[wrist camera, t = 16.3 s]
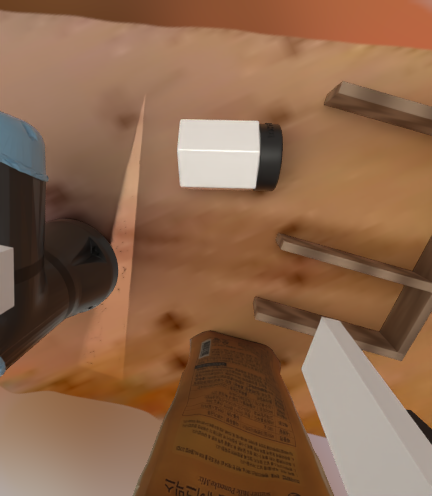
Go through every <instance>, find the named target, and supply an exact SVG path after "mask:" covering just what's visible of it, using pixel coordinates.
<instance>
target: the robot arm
mask: <svg viewBox="0 0 432 496" xmlns="http://www.w3.org/2000/svg"><path fill="white" fill-rule="evenodd" d="M48 179H49V178H48V176H47V175H46V163H45V144H44V141H43V138H42V136H41V135H40V133H39V132H38V131H37V130H36V129H35V128H34V127H33V126H32V125H30V124H28V123H27V122H25V121H23V120H21V119H18V118H16V117H13V116H11V115H9V114H6V113H3V112H1V111H0V376H2V375H3V374H4V372H5V370H7V369H8V368H9V367H10V366H11V365H12V364H14V363H15V362H16V361H17V360H18V359H19V358H20V357H22V356H23V355H24V354H25V353H26V352H27V351H28V350H30V349H31V348H32V347H33V346H34V345H35V344H36V343H38V342H39V341H40V340H41V339H42V338H43V337H45V336H46V335H47V334H48V333H49V332H50V331H51V330H53V329H54V328H55V327H56V326H57V325H58V324H60V323H61V322H62V321H63V320H64V319H66V318H68V317H71V316H74V315H76V314H78V313H82V312H85V311H88V310H91V309H93V308H95V307H96V306H98V305H99V304H100V303H101V302H103V301H104V300H105V299H106V298H107V297H108V296H109V295H110V294H111V292H112V291H113V289H114V287H115V285H116V282H117V278H118V263H117V259H116V256H115V253H114V251H113V249H112V247H111V245H110V244H109V242H108V241H107V240H106V239H105V237H104V236H103V235H102V234H101V233H99V232H98V231H97V230H96V229H94V228H93V227H91V226H90V225H88V224H86V223H83V222H81V221H78V220H73V219H56V220H52V221H48V222H45V203H46V181H47V182H48ZM302 372H303V375H304V377H305V380H306V383H307V386H308V388H309V391H310V394H311V397H312V399H313V402H314V405H315V407H316V410H317V413H318V416H319V418H320V421H321V424H322V426H323V429H324V432H325V435H326V437H327V440H328V443H329V445H330V448H331V451H332V453H333V456H334V459H335V462H336V464H337V467H338V470H339V472H340V475H341V478H342V481H343V484H344V486H345V489H346V492H347V494H348V496H432V429H431V428H430V427H429V426H428V425H427V424H425V423H424V422H423V421H422V420H421V419H420V418H419V417H418V416H417V415H416V414H415V413H413V412H412V411H411V410H406V409H405V408H404V407H403V405H402V404H401V403H400V401H399V400H398V399H397V397H396V396H395V395H394V393H393V392H392V391H391V389H390V388H389V387H388V385H387V384H386V383H385V381H384V380H383V379H382V377H381V376H380V375H379V373H378V372H377V371H376V369H375V368H374V366H373V365H372V364H371V362H370V361H369V360H368V358H367V357H366V356H365V354H364V353H363V352H362V350H361V349H360V348H359V346H358V345H357V344H356V342H355V341H354V340H353V338H352V337H351V336H350V334H349V333H348V332H347V330H346V329H345V327H344V326H343V325H342V323H341V322H340V321H338V320H334V319H329V318H325V317H322V318H321V320H320V323H319V325H318V328H317V331H316V333H315V336H314V338H313V341H312V343H311V346H310V348H309V351H308V353H307V356H306V358H305V361H304V364H303V366H302Z"/></svg>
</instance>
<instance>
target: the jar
mask: <svg viewBox="0 0 432 496" xmlns="http://www.w3.org/2000/svg"><path fill="white" fill-rule="evenodd" d="M282 151H283V137H282V130H281V127H280V125H278V124H272V123H265V124H259V121H246V120H201V119H181V120H180V125H179V136H178V145H177V156H178V168H179V180H180V186H181V187H183V188H185V189H212V190H252V189H253V190H254V191H273V190H274V189H275V187H276V185H277V182H278V179H279V174H280V169H281V162H282Z"/></svg>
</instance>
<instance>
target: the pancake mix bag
mask: <svg viewBox="0 0 432 496" xmlns="http://www.w3.org/2000/svg"><path fill="white" fill-rule="evenodd" d="M280 369H281V366H280V362H279V360H278V359H277V357H276V356H275V354H274V352H273V351H272V350H271V349H270V348H269V347H267V346H266V345H263V344H259V343H255V342H251V341H247V340H244V339H240V338H236V337H231V336H228V335H224V334H221V333H218V332H214V331H206V332H202V333H200V334H198V335H196V336H195V337H193V338H192V339H190V355H189V360H188V363H187V366H186V368H185V370H184V372H183V373H182V377H181V380H180V383H179V386H178V389H177V392H176V396H175V398H174V400H173V402H172V404H171V406H170V408H169V410H168V412H167V414H166V416H165V418H164V420H163V423H162V425H161V427H160V430H159V432H158V435H157V437H156V440H155V443H154V446H153V448H152V451H151V454H150V456H149V459H148V462H147V464H146V466H145V468H144V470H143V472H142V474H141V475H140V477H139V480H138V483H137V485H136V488H135V491H134V493H133V496H334V494H333V492H332V490H331V487H330V485H329V482H328V480H327V477H326V475H325V473H324V470H323V468H322V465H321V463H320V460H319V458H318V456H317V455H316V453H315V451H314V449H313V447H312V444H311V442H310V439H309V437H308V435H307V433H306V430H305V428H304V426H303V424H302V422H301V419H300V417H299V415H298V413H297V411H296V408H295V406H294V403H293V401H292V398H291V396H290V393H289V391H288V389H287V387H286V385H285V383H284V381H283V379H282V377H281V375H280Z"/></svg>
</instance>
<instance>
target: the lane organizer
mask: <svg viewBox="0 0 432 496" xmlns="http://www.w3.org/2000/svg"><path fill="white" fill-rule="evenodd" d="M324 105H327V106H331V107H334V108H338V109H341V110H345V111H348V112H352V113H355V114H359V115H362V116H366V117H369V118H373V119H376V120H379V121H383V122H386V123H390V124H393V125H397V126H400V127H404V128H407V129H411V130H414V131H418V132H421V133H425V134H428V135H432V107H431V106H428V105H424V104H421V103H417V102H414V101H410V100H407V99H403V98H400V97H396V96H393V95H389V94H386V93H382V92H379V91H376V90H372V89H369V88H365V87H362V86H358V85H355V84H351V83H348V82H344V81H342V82H341V83H340V84H339V85H338V86H337V87H335V88H334V89H333V90H332V91H331V92H330V93H329V94H327V97H326V100H325V103H324ZM276 242H277V244H278V245H279V247H280V249H281V250H284V251H288V252H291V253H295V254H298V255H302V256H305V257H309V258H312V259H316V260H319V261H323V262H326V263H330V264H333V265H337V266H340V267H344V268H347V269H351V270H354V271H358V272H361V273H365V274H368V275H372V276H375V277H379V278H382V279H386V280H389V281H393V282H396V283H400V284H403V285H405V286H404V288H403V290H402V291H401V293H400V295H399V297H398V299H397V301H396V302H395V304H394V306H393V308H392V310H391V312H390V313H389V315H388V317H387V319H386V321H385V323H384V324H383V326H382V328H381V330H380V332H378V331H374V330H371V329H367V328H364V327H360V326H357V325H353V324H350V323H346V322H343V321H340V322H341V323H342V325H343V326H344V327H345V329H346V330H347V332H348V333H349V334H350V336H351V337H352V338H353V340H354V341H355V342H356V344H357V345H358V346H359V348H360V349H361V350H365V351H368V352H372V353H375V354H379V355H382V356H386V357H389V358H393V359H396V360H400V361H402V360H403V358H404V357H405V355H406V353H407V352H408V350H409V348H410V347H411V345H412V343H413V342H414V340H415V338H416V337H417V335H418V333H419V332H420V330H421V328H422V327H423V325H424V323H425V322H426V320H427V318H428V317H429V315H430V313H431V312H432V237H431V238H430V240H429V242H428V244H427V246H426V248H425V249H424V251H423V253H422V255H421V257H420V259H419V260H418V262H417V264H416V266H415V268H414V269H413V271H410V270H406V269H403V268H399V267H396V266H392V265H389V264H385V263H382V262H378V261H375V260H371V259H368V258H364V257H361V256H357V255H354V254H350V253H347V252H343V251H340V250H336V249H333V248H329V247H326V246H322V245H319V244H315V243H312V242H308V241H305V240H301V239H298V238H294V237H291V236H287V235H284V234H280V233H278V234H277V237H276ZM253 306H254V314H255V319H256V320H259V321H263V322H266V323H270V324H273V325H277V326H280V327H284V328H287V329H291V330H294V331H298V332H301V333H305V334H308V335H312V336H315V333H316V331H317V328H318V325H319V323H320V320H321V318H322V317H325V316H322V315H318V314H315V313H311V312H308V311H304V310H301V309H297V308H294V307H290V306H287V305H283V304H280V303H276V302H273V301H269V300H266V299H262V298H259V297H255V299H254V302H253ZM325 318H329V317H325ZM329 319H332V318H329ZM334 320H336V319H334ZM338 321H339V320H338Z"/></svg>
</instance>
